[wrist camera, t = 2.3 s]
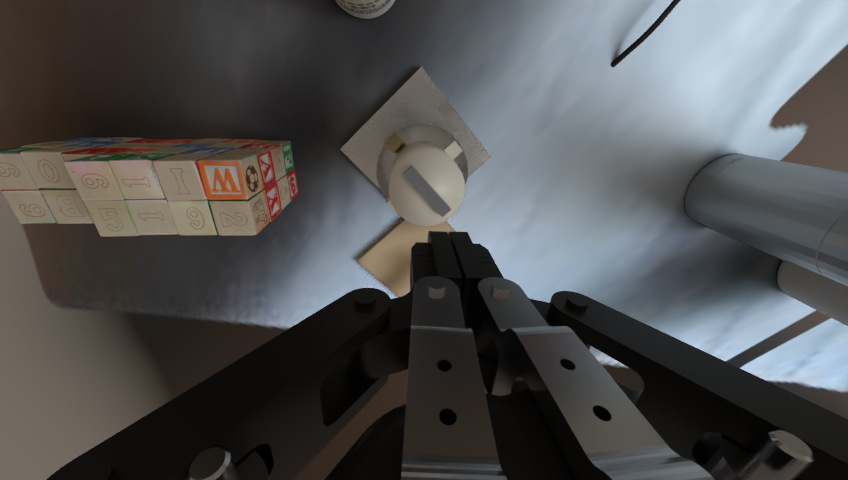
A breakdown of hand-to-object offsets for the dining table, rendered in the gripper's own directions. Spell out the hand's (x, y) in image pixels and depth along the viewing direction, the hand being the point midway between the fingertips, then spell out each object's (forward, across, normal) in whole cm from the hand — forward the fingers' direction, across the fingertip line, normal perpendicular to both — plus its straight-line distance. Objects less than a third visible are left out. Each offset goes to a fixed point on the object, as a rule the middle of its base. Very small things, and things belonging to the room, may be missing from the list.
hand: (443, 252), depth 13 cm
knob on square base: (+25, 0, 0) cm, 25 cm away
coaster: (+25, -1, +14) cm, 29 cm away
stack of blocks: (+25, +24, +3) cm, 35 cm away
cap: (+14, 0, 0) cm, 14 cm away
